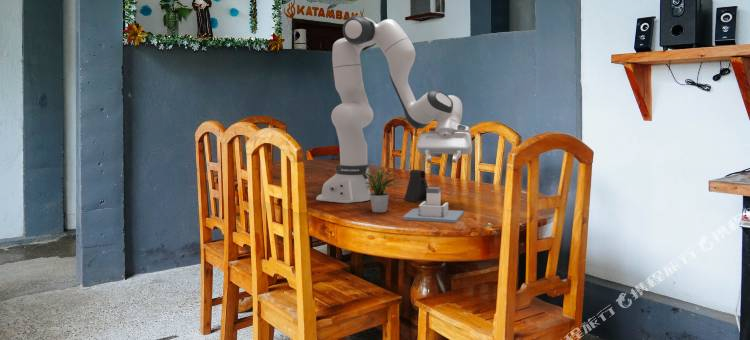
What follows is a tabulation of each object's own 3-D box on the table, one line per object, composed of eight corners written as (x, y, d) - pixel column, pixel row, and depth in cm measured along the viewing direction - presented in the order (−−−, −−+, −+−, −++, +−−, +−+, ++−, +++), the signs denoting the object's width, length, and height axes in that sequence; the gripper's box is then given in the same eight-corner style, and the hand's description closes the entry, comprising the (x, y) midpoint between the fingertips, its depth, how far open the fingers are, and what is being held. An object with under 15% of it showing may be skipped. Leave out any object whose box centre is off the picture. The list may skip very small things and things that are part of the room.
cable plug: (426, 214, 193) (426, 188, 192) (429, 212, 197) (429, 186, 196) (438, 215, 192) (438, 189, 191) (440, 212, 196) (440, 187, 194)
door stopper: (413, 202, 221) (413, 172, 219) (404, 200, 226) (404, 170, 224) (431, 199, 226) (431, 170, 224) (421, 197, 231) (421, 168, 229)
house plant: (379, 217, 194) (378, 170, 192) (350, 212, 203) (349, 167, 201) (405, 211, 204) (405, 166, 202) (377, 206, 214) (377, 163, 212)
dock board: (402, 219, 190) (402, 206, 190) (413, 211, 204) (413, 198, 204) (455, 222, 185) (455, 209, 184) (463, 213, 199) (463, 201, 198)
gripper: (418, 126, 213) (412, 155, 205) (473, 126, 206) (468, 156, 199) (421, 137, 218) (415, 165, 210) (474, 138, 211) (470, 167, 203)
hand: (441, 161), depth 204 cm, fingers open, 8 cm apart
